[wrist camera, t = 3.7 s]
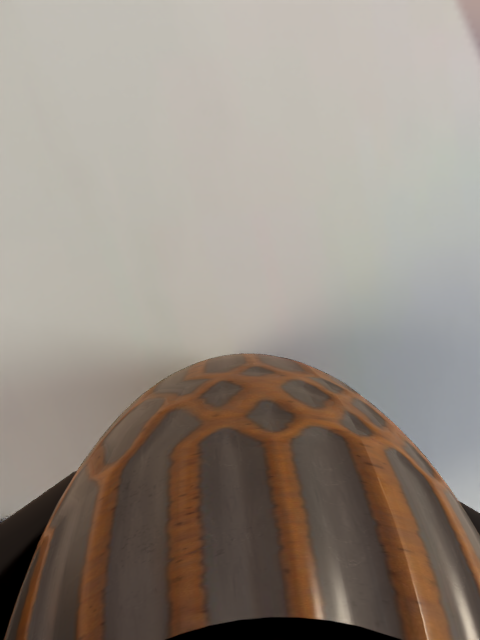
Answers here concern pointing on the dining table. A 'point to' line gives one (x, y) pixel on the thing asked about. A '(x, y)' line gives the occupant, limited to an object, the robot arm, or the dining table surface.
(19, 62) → the dining table surface
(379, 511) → the vase
